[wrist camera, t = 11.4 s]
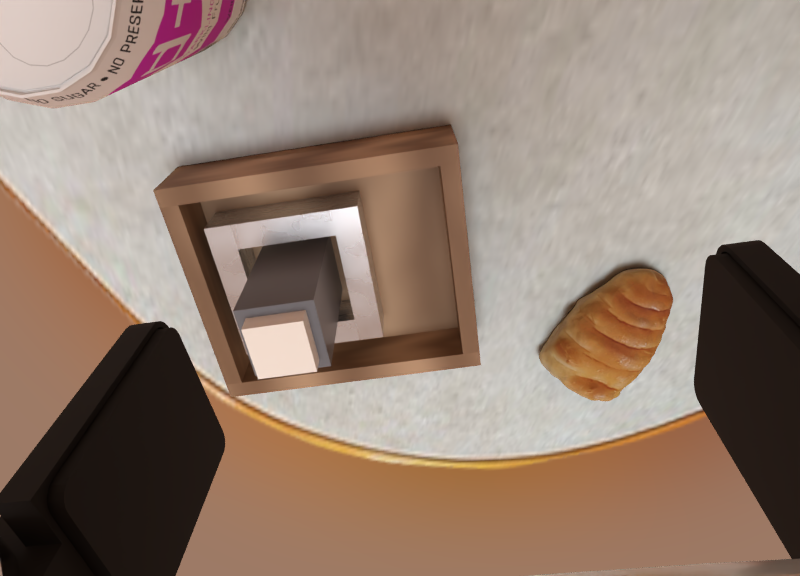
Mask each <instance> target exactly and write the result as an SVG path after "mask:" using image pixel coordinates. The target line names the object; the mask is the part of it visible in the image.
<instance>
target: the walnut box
mask: <svg viewBox="0 0 800 576" xmlns="http://www.w3.org/2000/svg"><path fill="white" fill-rule="evenodd" d="M153 191H154V193H155V196H156V199H157V201H158V204H159V207H160V209H161V212H162V215H163V217H164V220H165V223H166V225H167V228H168V231H169V233H170V236H171V239H172V241H173V244H174V247H175V249H176V252H177V255H178V257H179V260H180V263H181V265H182V268H183V271H184V273H185V276H186V279H187V281H188V284H189V287H190V289H191V292H192V295H193V297H194V300H195V303H196V305H197V308H198V311H199V313H200V316H201V319H202V321H203V324H204V326H205V329H206V332H207V334H208V337H209V340H210V342H211V345H212V348H213V350H214V353H215V356H216V358H217V361H218V364H219V366H220V369H221V372H222V374H223V377H224V380H225V382H226V385H227V388H228V390H229V393H230V396H231V397H235V396H243V395H250V394H258V393H266V392H274V391H282V390H290V389H297V388H305V387H313V386H321V385H329V384H336V383H344V382H352V381H360V380H368V379H376V378H383V377H391V376H399V375H407V374H415V373H422V372H430V371H438V370H446V369H454V368H462V367H469V366H477V365H481V363H480V353H479V344H478V334H477V324H476V315H475V305H474V296H473V286H472V276H471V267H470V257H469V247H468V238H467V228H466V218H465V209H464V199H463V189H462V180H461V170H460V161H459V151H458V143H457V140H456V138H455V135H454V132H453V129H452V126H451V125H446V126H439V127H433V128H426V129H420V130H413V131H407V132H400V133H394V134H387V135H381V136H375V137H368V138H362V139H355V140H349V141H342V142H336V143H329V144H323V145H316V146H310V147H303V148H297V149H291V150H284V151H278V152H271V153H265V154H258V155H252V156H245V157H239V158H232V159H226V160H219V161H213V162H206V163H200V164H194V165H187V166H181V167H177V168H176V169H175V170H174V171H173V172H172V173H171V174H170V175H169V176H168V177H167V178H166V179H165V180H164V181H163V182H162V183H161V184H160V185H158V186H157V187H156V188H155V189H154V190H153ZM353 191H360V196H361V201H362V206H363V211H364V216H365V221H366V226H367V232H368V237H369V242H370V247H371V252H372V257H373V262H374V268H375V273H376V278H377V283H378V288H379V293H380V298H381V304H382V309H383V314H384V326H383V337H378V338H371V339H363V340H356V341H348V342H340V343H334V350H333V356H332V363H331V366H328V367H320V368H318V370H317V372H310V373H303V374H295V375H287V376H280V377H272V378H265V379H258V377H257V376H255V374H254V371H253V368H252V365H251V362H250V359H249V356H248V355H247V354H246V351H245V348H244V345H243V342H242V339H241V336H240V333H239V331H238V328H237V325H236V322H235V319H234V316H233V313H232V310H231V307H230V304H229V301H228V298H227V296H226V293H225V290H224V287H223V284H222V281H221V278H220V275H219V272H218V269H217V266H216V264H215V261H214V258H213V255H212V252H211V249H210V246H209V243H208V240H207V237H206V234H205V231H204V228H205V226H206V225H207V224H208V222H209V221H210V219H211V218H212V216H213V215H214V214H215V212H219V211H226V210H232V209H239V208H246V207H253V206H259V205H266V204H273V203H279V202H286V201H293V200H300V199H306V198H313V197H320V196H326V195H333V194H340V193H347V192H353ZM330 238H331V242H332V246H333V250H334V255H335V259H336V263H337V268H338V272H339V276H340V281H341V285H342V289H343V291H342V297H341V301H344V300H350V297H349V293H348V288H347V284H346V279H345V275H344V270H343V266H342V261H341V257H340V252H339V248H338V244H337V239H336V235H335V236H330ZM252 248H253V251H254V255H255V258H256V260H257V257H258V255H259V253H260V251H261V249H262V246H259V247H252Z"/></svg>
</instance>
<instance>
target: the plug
mask: <svg viewBox="0 0 800 576" xmlns="http://www.w3.org/2000/svg"><path fill="white" fill-rule="evenodd" d="M342 291H343V289H342V285H341V281H340V276H339V272H338V268H337V263H336V259H335V255H334V250H333V246H332V242H331V238H330V236H328V237H321V238H314V239H307V240H300V241H293V242H286V243H279V244H273V245H266V246H262V249H261V251H260V253H259V255H258V257H257V260H256V262H255V264H254V266H253V268H252V270H251V273H250V275H249V277H248V279H247V281H246V284H245V286H244V288H243V290H242V292H241V295H240V297H239V299H238V301H237V303H236V305H235V308H234V310H233V313H234V316H235V319H236V322H237V324H238V327H239V330H240V333H241V336H242V339H243V342H244V345H245V348H246V350H247V353H248V356H249V359H250V362H251V365H252V368H253V371H254V374H255V376H257V377H258V379H265V378H272V377H280V376H287V375H295V374H303V373H310V372H317V370H318V368H320V367H328V366H331V363H332V356H333V350H334V343H335V337H336V330H337V324H338V317H339V310H340V304H341V297H342Z"/></svg>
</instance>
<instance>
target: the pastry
mask: <svg viewBox="0 0 800 576" xmlns="http://www.w3.org/2000/svg"><path fill="white" fill-rule="evenodd" d="M672 303H673V297H672V294H671V291H670V288H669V286H668V284H667V281H666V279H665V278H664V276H663V275H662V274H660V273H658V272H657V271H654V270H651V269H629V270H625V271H623V272H621V273H619V274H617V275H615V276H614V277H613V278H612V279H611V280H610V281H609V282H607V283H606V284H605V285H603V286H601V287H599V288H598V289H596V290H595V291H594V292H592V293H590V294H588V295H586V296H584V297H582V298H581V299H579V300H578V301H577V303H576V305H575V307H574V309H572V310H571V311H570V312H569V313H568V315H567V316H566V317H565V318H564V320H563V321H562V322H561V323H560V324H558V325H557V327H556V328H555V330H554V331H553V332H552V334H551V335H550V337H549V338H548V340H547V342H546V343H545V345H544V346H543V348H542V350H541V352H540V354H539V359H540V361H541V363H542V364H543V366H544V367H545V368H546V369H547V370H548V371H549V372H550V373H551V374H552V375H553V376H554V377H556V378H558V379H559V380H560V381H561V382H562V383H563V384H564V385H565V386H566V387H567V388H569V389H571V390H572V391H574V392H576V393H577V394H579V395H581V396H583V397H586V398H588V399H590V400H600V401H610V400H612V399H613V398H615V397H618V396H619V394H620V391H621V390H622V389H623V388H624V387H626V386H627V385H628V384H630V383H631V382H632V381H633V380H634V379H635V378H636V377H637V376H638V375H639V374H640V373H641V371H642V370H643V368H644V367H645V366H646V365H647V364H648V363H649V362H650V360H651V358H652V356H653V355H654V354H655V351H656V349H657V347H658V345H659V343H660V342H661V338H662V334H663V332H664V330H665V328H666V321H667V319H668V316H669V314H670V309H671V306H672Z"/></svg>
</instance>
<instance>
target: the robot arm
mask: <svg viewBox="0 0 800 576" xmlns="http://www.w3.org/2000/svg"><path fill="white" fill-rule="evenodd" d="M694 388H695V393H696V396H697V399H698V401H699V403H700V405H701V407H702V408H703V410H704V412H705V413H706V415H707V417H708V418H709V420H710V422H711V423H712V425H713V427H714V429H715V430H716V432H717V434H718V435H719V437H720V438H721V440H722V442H723V444H724V445H725V447H726V449H727V450H728V452H729V454H730V455H731V457H732V459H733V460H734V462H735V464H736V466H737V467H738V469H739V471H740V472H741V474H742V476H743V477H744V479H745V481H746V482H747V484H748V486H749V487H750V489H751V491H752V492H753V494H754V496H755V497H756V499H757V501H758V503H759V504H760V506H761V508H762V509H763V511H764V513H765V514H766V516H767V518H768V519H769V521H770V523H771V525H772V526H773V528H774V529H775V531H776V533H777V535H778V536H779V538H780V540H781V541H782V543H783V544H784V546H785V548H786V550H787V551H788V553H789V555H790V556H791V558H792V559H786V560H785V559H784V560H766V561H746V562H728V563H709V564H694V565H679V566H664V567H649V568H635V569H620V570H605V571H590V572H576V573H561V574H546V575H532V576H800V274H799V273H798V272H796V271H795V270H794V269H793V268H792V267H791V266H790V265H789V264H788V263H786V262H785V261H784V260H783V259H782V258H781V257H780V256H779V255H777V254H776V253H775V252H774V251H773V250H772V249H771V248H770V247H768V246H767V245H766V244H765V243H764V242H762V241H760V240H756V241H749V242H741V243H734V244H726V245H721V246H720V247H719V248H718V250H717V253H716V255H710V256H709V257H708V258H707V260H706V264H705V274H704V284H703V294H702V304H701V314H700V325H699V335H698V345H697V355H696V365H695V375H694ZM224 448H225V438H224V433H223V430H222V428H221V426H220V424H219V422H218V419H217V417H216V415H215V413H214V410H213V408H212V406H211V404H210V402H209V399H208V397H207V395H206V393H205V391H204V388H203V386H202V384H201V382H200V379H199V377H198V375H197V373H196V371H195V368H194V366H193V364H192V362H191V360H190V357H189V355H188V353H187V351H186V349H185V346H184V344H183V342H182V340H181V337H180V335H179V333H178V332H177V330H176V329H174V328H172V327H171V328H169V327H168V326H167V325H166V324H165V323H164V322H161V321H158V322H151V323H143V324H136V325H131V326H129V327H128V328H127V329H125V331H124V332H123V333H122V335H121V336H120V338H119V339H118V340H117V341H116V343H115V344H114V345H113V347H112V348H111V349H110V350H109V352H108V353H107V354H106V356H105V357H104V358H103V360H102V361H101V362H100V363H99V365H98V366H97V367H96V369H95V370H94V372H93V373H92V374H91V375H90V376H89V378H88V379H87V380H86V382H85V383H84V384H83V386H82V387H81V388H80V390H79V391H78V392H77V393H76V395H75V396H74V397H73V399H72V400H71V401H70V403H69V404H68V405H67V407H66V408H65V409H64V410H63V412H62V413H61V415H60V416H59V417H58V418H57V420H56V421H55V422H54V423H53V425H52V426H51V427H50V429H49V430H48V431H47V433H46V434H45V435H44V437H43V438H42V439H41V440H40V442H39V443H38V444H37V446H36V447H35V448H34V450H33V451H32V452H31V453H30V455H29V456H28V458H27V459H26V460H25V461H24V463H23V464H22V465H21V467H20V468H19V469H18V471H17V472H16V473H15V474H14V476H13V477H12V478H11V480H10V481H9V482H8V484H7V485H6V486H5V488H4V489H3V490H2V491H1V493H0V515H1V517H0V576H175V575H176V573H177V570H178V568H179V565H180V563H181V560H182V558H183V555H184V553H185V550H186V547H187V545H188V542H189V540H190V537H191V534H192V532H193V529H194V527H195V524H196V522H197V519H198V517H199V514H200V511H201V509H202V506H203V504H204V501H205V499H206V496H207V493H208V491H209V489H210V486H211V483H212V481H213V478H214V476H215V473H216V471H217V468H218V466H219V463H220V460H221V458H222V455H223V453H224Z"/></svg>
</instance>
